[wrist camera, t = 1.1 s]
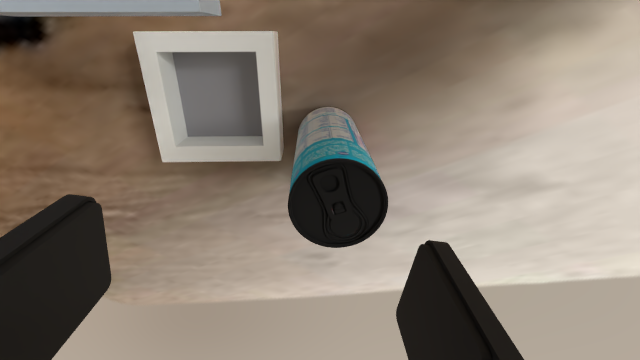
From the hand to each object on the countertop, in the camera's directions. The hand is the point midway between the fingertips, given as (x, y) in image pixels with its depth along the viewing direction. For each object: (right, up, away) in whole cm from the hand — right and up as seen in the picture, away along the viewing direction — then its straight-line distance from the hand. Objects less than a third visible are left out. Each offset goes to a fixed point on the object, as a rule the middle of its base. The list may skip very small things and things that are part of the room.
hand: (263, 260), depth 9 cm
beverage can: (+2, +7, +23) cm, 24 cm away
